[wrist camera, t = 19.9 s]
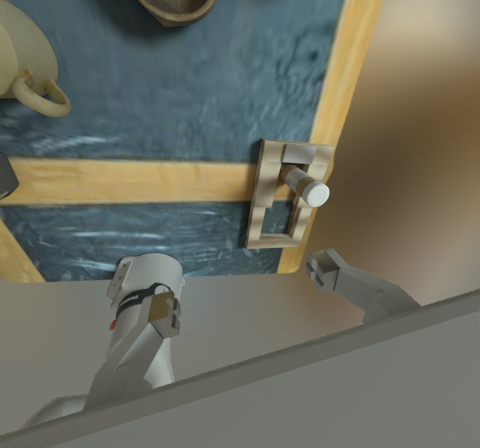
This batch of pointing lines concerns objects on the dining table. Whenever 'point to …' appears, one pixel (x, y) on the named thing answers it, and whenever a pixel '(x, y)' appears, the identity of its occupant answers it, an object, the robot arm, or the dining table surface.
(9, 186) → the liquor
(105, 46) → the dining table surface
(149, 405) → the robot arm
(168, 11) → the bowl
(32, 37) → the sugar bowl
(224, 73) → the dining table surface
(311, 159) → the keyhole board
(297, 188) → the sprinkles bottle
